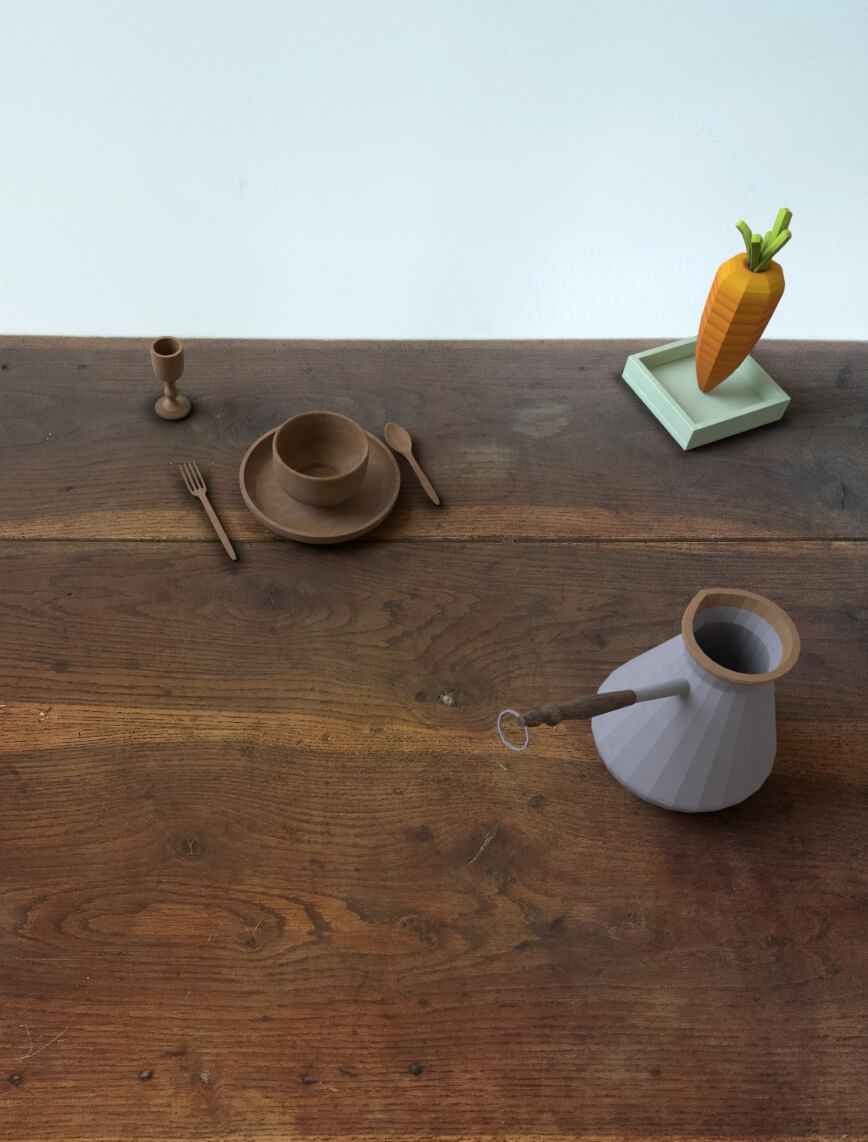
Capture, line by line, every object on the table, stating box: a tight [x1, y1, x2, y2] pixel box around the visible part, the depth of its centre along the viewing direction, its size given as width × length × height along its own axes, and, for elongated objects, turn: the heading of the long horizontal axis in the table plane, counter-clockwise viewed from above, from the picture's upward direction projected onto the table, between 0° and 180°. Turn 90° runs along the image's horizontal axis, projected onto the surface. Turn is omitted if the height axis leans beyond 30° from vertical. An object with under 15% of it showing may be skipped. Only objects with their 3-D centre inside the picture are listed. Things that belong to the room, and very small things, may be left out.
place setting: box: [149, 335, 441, 561], centre depth 80 cm, size 18×20×6 cm
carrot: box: [695, 207, 794, 393], centre depth 80 cm, size 5×5×15 cm
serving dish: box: [621, 334, 792, 452], centre depth 86 cm, size 9×9×2 cm
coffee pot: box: [497, 587, 801, 814], centre depth 62 cm, size 21×12×15 cm, turn 118°
